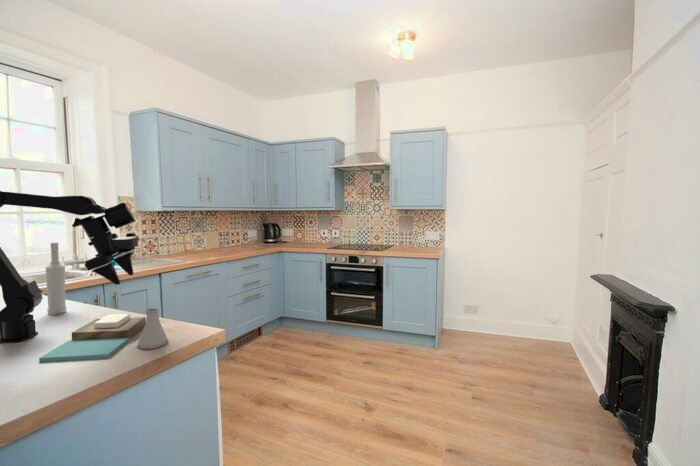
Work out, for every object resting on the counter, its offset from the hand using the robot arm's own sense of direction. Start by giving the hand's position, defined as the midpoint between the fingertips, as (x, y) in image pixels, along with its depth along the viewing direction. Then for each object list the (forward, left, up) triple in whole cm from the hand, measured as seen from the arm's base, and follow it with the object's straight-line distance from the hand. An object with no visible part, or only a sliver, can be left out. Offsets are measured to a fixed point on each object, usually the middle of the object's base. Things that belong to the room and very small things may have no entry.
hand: (125, 279), depth 105 cm
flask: (+14, -18, -15) cm, 27 cm away
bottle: (-30, +17, -15) cm, 38 cm away
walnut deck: (-1, -8, -15) cm, 17 cm away
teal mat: (-1, -20, -15) cm, 25 cm away
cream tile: (-1, -7, -12) cm, 14 cm away
